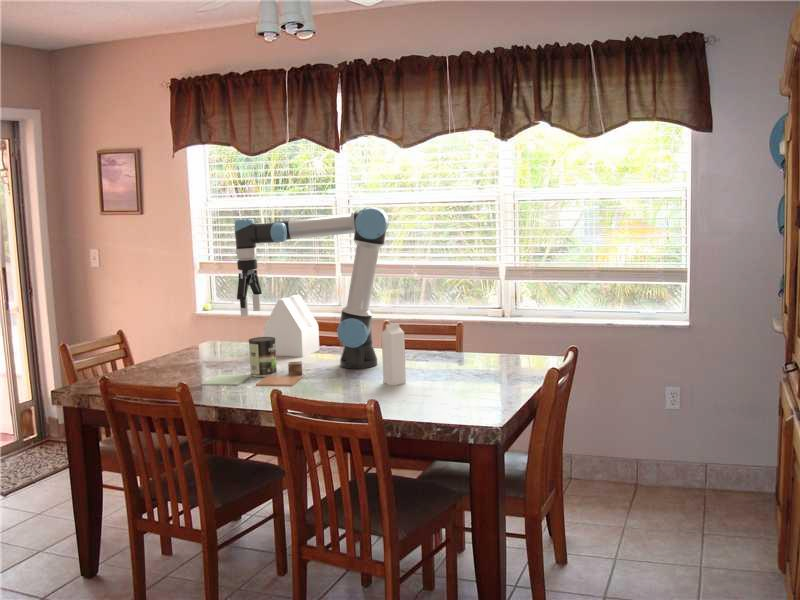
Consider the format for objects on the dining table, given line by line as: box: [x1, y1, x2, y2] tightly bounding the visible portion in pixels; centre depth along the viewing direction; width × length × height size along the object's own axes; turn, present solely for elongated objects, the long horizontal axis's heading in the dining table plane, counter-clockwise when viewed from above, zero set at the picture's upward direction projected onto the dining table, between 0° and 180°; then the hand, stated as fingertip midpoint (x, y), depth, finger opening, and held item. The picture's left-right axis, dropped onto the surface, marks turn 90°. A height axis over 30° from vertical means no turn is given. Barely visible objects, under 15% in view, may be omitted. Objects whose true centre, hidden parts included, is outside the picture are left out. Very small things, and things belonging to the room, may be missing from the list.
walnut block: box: [287, 360, 303, 376], centre depth 304 cm, size 5×5×5 cm
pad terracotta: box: [255, 374, 304, 387], centre depth 295 cm, size 14×14×1 cm
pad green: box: [201, 374, 252, 386], centre depth 298 cm, size 14×14×1 cm
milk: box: [381, 322, 407, 386], centre depth 285 cm, size 6×6×22 cm
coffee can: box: [248, 336, 278, 378], centre depth 307 cm, size 10×10×14 cm
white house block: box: [262, 294, 320, 358], centre depth 348 cm, size 19×15×25 cm
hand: (251, 313), depth 305 cm, fingers open, 13 cm apart
